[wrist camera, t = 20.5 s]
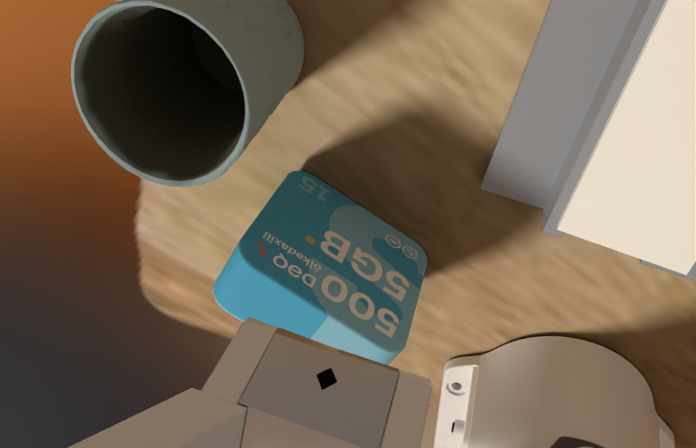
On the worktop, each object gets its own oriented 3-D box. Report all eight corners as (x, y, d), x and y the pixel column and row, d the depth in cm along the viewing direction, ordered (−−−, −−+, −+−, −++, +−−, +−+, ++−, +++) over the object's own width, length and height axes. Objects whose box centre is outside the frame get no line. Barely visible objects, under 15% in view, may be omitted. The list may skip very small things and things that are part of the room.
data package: (431, 250, 48) (403, 360, 38) (399, 287, 51) (365, 399, 41) (296, 162, 47) (230, 252, 37) (270, 204, 50) (202, 299, 40)
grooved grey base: (716, 256, 43) (733, 300, 39) (481, 182, 44) (475, 217, 40) (962, -106, 30) (1024, -96, 26) (624, -191, 32) (635, -193, 28)
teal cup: (191, 108, 47) (98, 183, 37) (161, -40, 42) (43, 2, 32) (324, 111, 44) (262, 193, 35) (309, -46, 39) (231, -3, 29)
